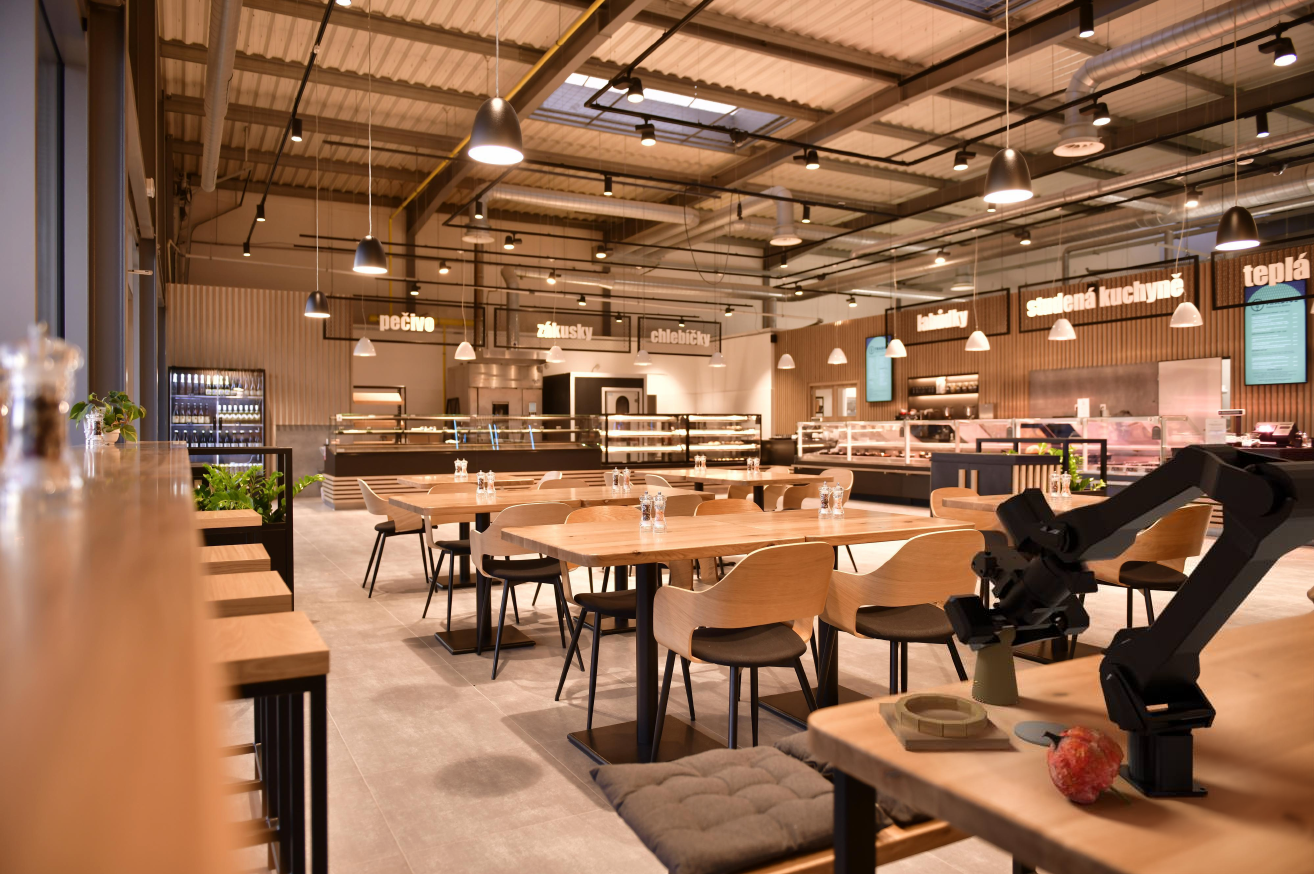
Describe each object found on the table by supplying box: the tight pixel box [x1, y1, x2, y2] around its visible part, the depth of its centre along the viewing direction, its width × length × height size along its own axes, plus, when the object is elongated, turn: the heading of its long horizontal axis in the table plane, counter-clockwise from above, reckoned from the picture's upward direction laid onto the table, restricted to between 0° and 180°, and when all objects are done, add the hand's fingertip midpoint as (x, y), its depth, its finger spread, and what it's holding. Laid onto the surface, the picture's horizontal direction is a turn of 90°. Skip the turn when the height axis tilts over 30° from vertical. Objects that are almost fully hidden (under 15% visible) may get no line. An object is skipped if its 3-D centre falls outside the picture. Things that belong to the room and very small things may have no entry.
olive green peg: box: [971, 627, 1020, 706], centre depth 114 cm, size 6×6×11 cm
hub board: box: [878, 692, 1010, 751], centre depth 103 cm, size 12×12×3 cm
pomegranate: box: [1042, 725, 1133, 805], centre depth 85 cm, size 7×7×10 cm
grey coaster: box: [1013, 720, 1071, 747], centre depth 101 cm, size 7×7×1 cm
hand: (988, 646), depth 115 cm, fingers closed on olive green peg, 5 cm apart
